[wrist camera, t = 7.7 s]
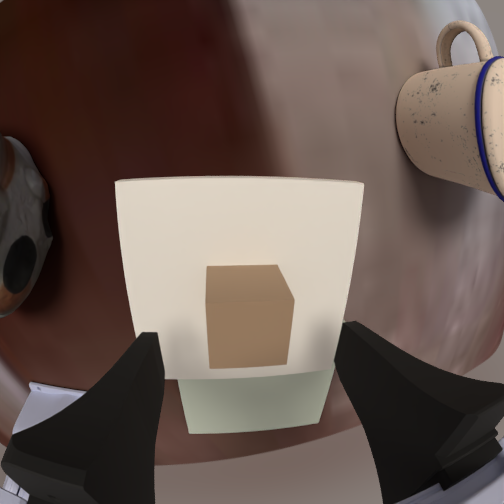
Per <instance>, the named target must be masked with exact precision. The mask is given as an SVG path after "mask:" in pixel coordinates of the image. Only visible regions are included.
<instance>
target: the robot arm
mask: <svg viewBox="0 0 504 504" xmlns="http://www.w3.org/2000/svg"><path fill="white" fill-rule="evenodd" d="M334 363H335V366H336V369H337V372H338V375H339V378H340V381H341V383H342V385H343V387H344V389H345V391H346V393H347V395H348V397H349V399H350V401H351V403H352V405H353V407H354V409H355V411H356V413H357V415H358V417H359V419H360V421H361V423H362V425H363V428H364V430H365V433H366V436H367V439H368V442H369V445H370V448H371V451H372V455H373V458H374V461H375V465H376V469H377V473H378V477H379V482H380V487H381V493H382V499H383V504H503V503H504V437H502V438H501V439H500V440H499V441H497V440H496V438H495V437H496V436H497V435H498V432H497V431H496V429H495V427H496V425H497V424H498V423H499V422H500V420H501V419H502V418H503V416H504V384H502V383H494V382H487V381H480V380H475V379H471V378H467V377H463V376H459V375H456V374H453V373H450V372H447V371H444V370H442V369H439V368H437V367H434V366H432V365H430V364H428V363H425V362H423V361H421V360H419V359H417V358H415V357H414V356H412V355H410V354H408V353H406V352H405V351H403V350H401V349H400V348H398V347H396V346H395V345H393V344H391V343H390V342H388V341H387V340H385V339H384V338H382V337H381V336H379V335H378V334H376V333H374V332H373V331H371V330H370V329H368V328H367V327H365V326H364V325H362V324H360V323H358V322H357V321H352V322H344V323H342V327H341V332H340V336H339V341H338V345H337V349H336V353H335V358H334ZM164 383H165V368H164V363H163V359H162V354H161V348H160V343H159V338H158V332H142V333H141V334H140V335H139V336H138V337H137V338H136V339H135V341H134V342H133V343H132V344H131V346H130V347H129V348H128V349H127V351H126V352H125V353H124V354H123V355H122V356H121V358H120V359H119V360H118V361H117V362H116V363H115V364H114V366H113V367H112V368H111V369H110V370H109V371H108V372H107V373H106V374H105V375H104V376H103V377H102V378H101V379H100V380H99V381H98V382H97V383H96V384H95V385H94V386H93V387H92V388H91V389H89V390H88V391H87V392H86V391H79V390H73V389H66V388H60V387H55V386H49V385H44V384H39V383H34V382H30V383H29V387H30V388H31V392H30V394H29V396H28V398H27V400H26V402H25V404H24V406H23V408H22V410H21V412H20V414H19V417H18V419H17V421H16V423H15V425H14V428H13V434H12V437H11V439H10V441H9V444H8V446H7V449H6V451H5V454H4V456H3V459H2V461H1V467H2V469H3V470H4V472H5V473H6V474H7V476H6V479H5V482H4V485H3V488H1V487H0V504H155V492H154V457H155V442H156V435H157V429H158V424H159V418H160V412H161V407H162V401H163V395H164Z"/></svg>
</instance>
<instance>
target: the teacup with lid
mask: <svg viewBox="0 0 504 504" xmlns="http://www.w3.org/2000/svg"><path fill="white" fill-rule="evenodd" d="M464 31H466V32H467V33H469V34H470V36H471V37H472V38H473V40H474V42H475V45H476V48H477V51H478V55H479V59H480V62H478V63H471V64H464V65H457V66H453V65H452V61H451V53H450V50H451V45H452V42H453V40H454V38H455V37H456V36H457V35H458V34H460V33H461V32H464ZM436 52H437V59H438V64H439V69H434V70H429V71H424V72H420V73H417V74H415V75H413V76H412V77H410V78H409V79H408V80H407V81H406V83H405V84H404V85H403V87H402V89H401V91H400V93H399V96H398V100H397V106H396V123H397V130H398V134H399V137H400V141H401V143H402V146H403V148H404V150H405V152H406V154H407V155H408V157H409V158H410V160H411V161H412V162H413V163H414V164H415V165H416V167H418V168H419V169H420V170H421V171H423V172H424V173H426V174H428V175H430V176H434V177H437V178H441V179H445V180H448V181H452V182H455V183H459V184H462V185H465V186H469V187H472V188H475V189H478V190H481V191H484V192H487V193H490V194H493V195H496V196H498V197H499V198H500V199H501V200H502V201H503V202H504V57H501V56H496V57H493V55H492V51H491V48H490V45H489V42H488V40H487V38H486V37H485V35H484V34H483V33H482V31H481V30H480V29H479V28H477V27H476V26H475V25H473V24H471V23H469V22H465V21H454V22H451V23H449V24H448V25H446V26H445V27H444V28H443V29H442V31H441V32H440V34H439V37H438V40H437V45H436Z"/></svg>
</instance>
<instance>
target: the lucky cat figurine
mask: <svg viewBox="0 0 504 504" xmlns="http://www.w3.org/2000/svg"><path fill="white" fill-rule="evenodd" d="M49 200H50V194H49V190H48V184H47V183H46V181H45V179H44V178H43V177H42V175H41V174H40V173H39V171H38V169H37V167H36V166H35V164H34V162H33V160H32V157H31V155H30V153H29V152H28V150H27V149H26V148H25V147H24V146H23V144H22V143H20V142H19V141H18V140H16V139H14V138H12V137H3V136H2V135H1V133H0V318H3V317H5V316H7V315H9V314H10V313H12V312H14V311H15V310H16V309H17V308H18V307H19V306H20V305H21V304H22V303H23V301H24V300H25V299H26V298H27V296H28V295H29V294H30V292H31V290H32V288H33V287H34V284H35V283H36V281H37V279H38V277H39V274H40V272H41V269H42V266H43V263H44V260H45V258H46V255H47V252H48V249H49V248H50V246H51V242H52V240H53V236H52V232H51V229H50V226H49V223H48V220H47V217H48V211H49Z"/></svg>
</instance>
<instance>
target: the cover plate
mask: <svg viewBox="0 0 504 504" xmlns="http://www.w3.org/2000/svg"><path fill="white" fill-rule="evenodd" d="M115 190H116V204H117V216H118V227H119V236H120V245H121V253H122V260H123V267H124V274H125V280H126V287H127V292H128V298H129V304H130V309H131V314H132V319H133V324H134V329H135V333H136V338H137V337H138V336H139V335H140V334H141V333H142V332H158V338H159V343H160V348H161V354H162V359H163V363H164V368H165V379H231V378H250V377H265V376H277V375H287V374H297V373H305V372H314V371H321V370H328V369H331V367H332V363H333V359H334V355H335V351H336V347H337V343H338V339H339V334H340V330H341V326H342V321H343V316H344V312H345V307H346V302H347V297H348V292H349V287H350V281H351V276H352V270H353V264H354V258H355V252H356V245H357V238H358V231H359V224H360V216H361V208H362V199H363V190H364V184H363V183H360V182H357V181H346V180H332V179H315V178H295V177H266V176H188V177H159V178H139V179H123V180H118V181H116V182H115Z"/></svg>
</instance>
